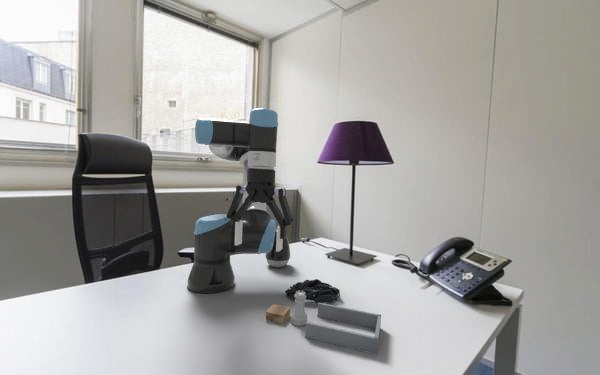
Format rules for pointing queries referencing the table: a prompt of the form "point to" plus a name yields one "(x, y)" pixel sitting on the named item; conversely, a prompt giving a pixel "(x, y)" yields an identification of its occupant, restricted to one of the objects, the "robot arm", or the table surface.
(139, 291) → the table surface
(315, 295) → the cable
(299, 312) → the rook chess piece
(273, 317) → the walnut tile
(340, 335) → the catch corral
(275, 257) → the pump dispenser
